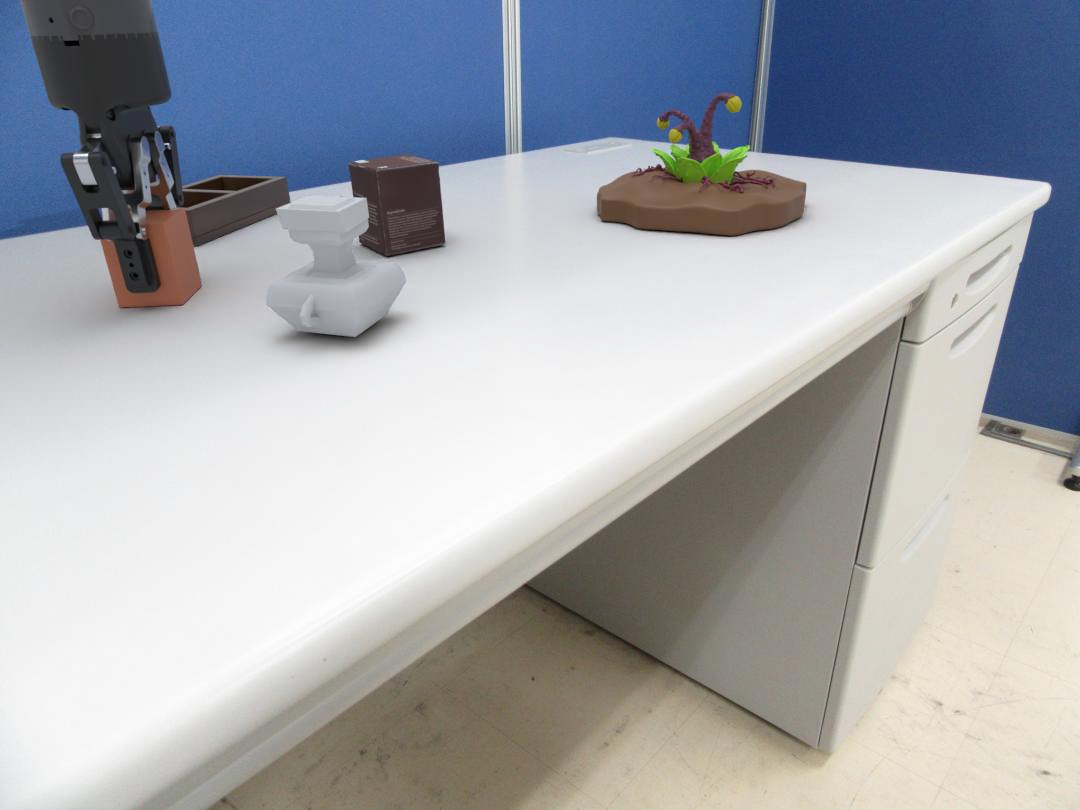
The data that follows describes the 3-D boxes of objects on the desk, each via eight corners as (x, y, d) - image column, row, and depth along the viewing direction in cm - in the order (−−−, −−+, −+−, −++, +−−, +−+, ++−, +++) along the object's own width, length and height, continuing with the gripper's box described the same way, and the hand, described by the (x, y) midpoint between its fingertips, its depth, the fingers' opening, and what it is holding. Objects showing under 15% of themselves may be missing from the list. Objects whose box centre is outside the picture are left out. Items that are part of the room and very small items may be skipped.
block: (118, 307, 58) (96, 226, 55) (142, 288, 62) (122, 211, 59) (183, 304, 58) (163, 223, 55) (202, 285, 62) (185, 208, 59)
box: (447, 246, 70) (440, 161, 67) (385, 258, 67) (375, 170, 64) (417, 232, 75) (409, 153, 72) (357, 243, 72) (346, 160, 69)
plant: (760, 245, 68) (774, 107, 63) (568, 220, 78) (567, 99, 73) (827, 200, 83) (843, 86, 78) (658, 184, 93) (662, 81, 88)
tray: (121, 241, 75) (112, 206, 73) (225, 204, 88) (219, 174, 87) (197, 246, 73) (189, 210, 71) (291, 207, 86) (286, 176, 85)
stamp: (354, 357, 48) (335, 220, 44) (261, 347, 50) (235, 214, 46) (417, 308, 56) (405, 187, 52) (334, 301, 58) (317, 184, 54)
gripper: (84, 28, 58) (143, 256, 65) (-28, 33, 45) (62, 315, 53) (188, 25, 58) (235, 252, 66) (107, 29, 45) (176, 310, 53)
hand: (157, 279), depth 59 cm, fingers closed on block, 4 cm apart
